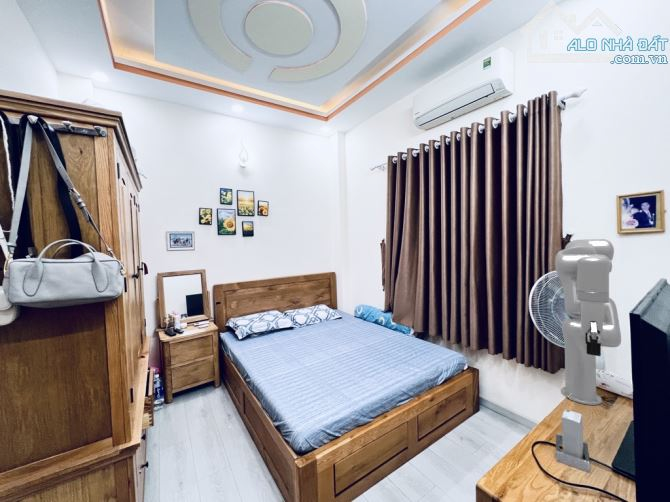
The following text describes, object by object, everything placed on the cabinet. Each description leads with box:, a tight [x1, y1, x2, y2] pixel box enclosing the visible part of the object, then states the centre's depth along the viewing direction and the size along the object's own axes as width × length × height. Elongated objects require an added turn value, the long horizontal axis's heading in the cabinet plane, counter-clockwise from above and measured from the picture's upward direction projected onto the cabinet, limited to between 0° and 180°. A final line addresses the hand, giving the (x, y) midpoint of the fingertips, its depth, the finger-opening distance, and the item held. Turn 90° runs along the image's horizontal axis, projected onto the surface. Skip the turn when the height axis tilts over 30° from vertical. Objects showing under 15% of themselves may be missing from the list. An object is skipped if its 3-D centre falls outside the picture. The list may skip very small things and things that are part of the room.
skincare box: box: [561, 409, 585, 460], centre depth 84 cm, size 6×4×12 cm
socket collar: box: [555, 432, 591, 473], centre depth 85 cm, size 11×7×2 cm
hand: (592, 349), depth 91 cm, fingers open, 9 cm apart
